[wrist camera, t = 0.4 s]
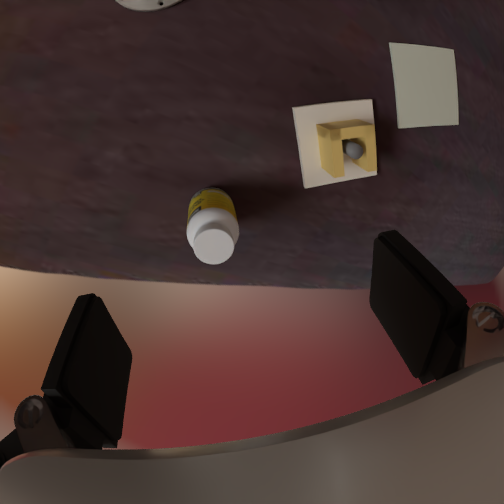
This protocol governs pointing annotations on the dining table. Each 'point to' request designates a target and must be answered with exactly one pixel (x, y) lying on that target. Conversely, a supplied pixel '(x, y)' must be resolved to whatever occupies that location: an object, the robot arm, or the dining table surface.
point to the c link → (332, 145)
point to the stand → (309, 144)
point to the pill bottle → (212, 225)
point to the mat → (424, 85)
